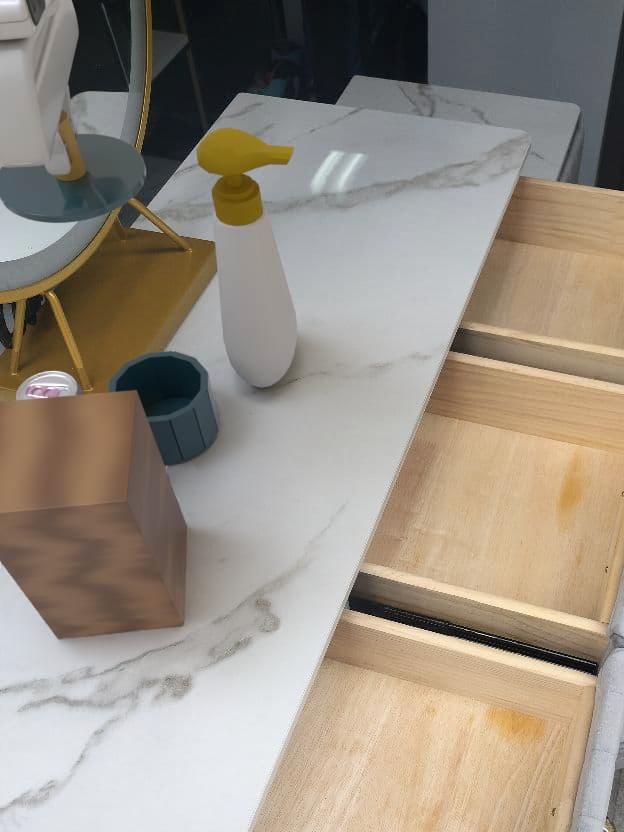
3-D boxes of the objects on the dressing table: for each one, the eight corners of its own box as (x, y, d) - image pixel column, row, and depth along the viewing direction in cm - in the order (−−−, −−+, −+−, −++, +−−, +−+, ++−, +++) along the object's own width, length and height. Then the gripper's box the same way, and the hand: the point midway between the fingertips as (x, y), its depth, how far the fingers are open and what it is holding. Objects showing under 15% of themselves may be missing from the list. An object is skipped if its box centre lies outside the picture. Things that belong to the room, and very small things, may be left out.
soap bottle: (311, 406, 96) (282, 174, 72) (224, 402, 96) (165, 170, 72) (323, 332, 103) (300, 99, 79) (241, 328, 103) (194, 95, 79)
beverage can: (81, 465, 90) (30, 365, 78) (132, 473, 90) (89, 373, 78) (58, 507, 87) (2, 409, 75) (111, 516, 87) (63, 419, 74)
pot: (122, 469, 90) (103, 425, 84) (129, 400, 96) (112, 355, 90) (219, 460, 91) (207, 417, 85) (219, 392, 97) (208, 347, 91)
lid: (-14, 227, 62) (-43, 164, 58) (10, 144, 68) (-15, 82, 64) (141, 218, 63) (123, 155, 59) (150, 136, 69) (134, 74, 65)
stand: (57, 639, 78) (-35, 516, 62) (70, 537, 85) (-9, 401, 69) (183, 626, 79) (126, 501, 63) (187, 526, 86) (136, 389, 69)
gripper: (-29, -107, 58) (40, 90, 70) (-94, 26, 47) (2, 236, 58) (61, -110, 59) (116, 87, 70) (19, 21, 47) (92, 231, 59)
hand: (64, 156), depth 64 cm, fingers closed on lid, 2 cm apart
